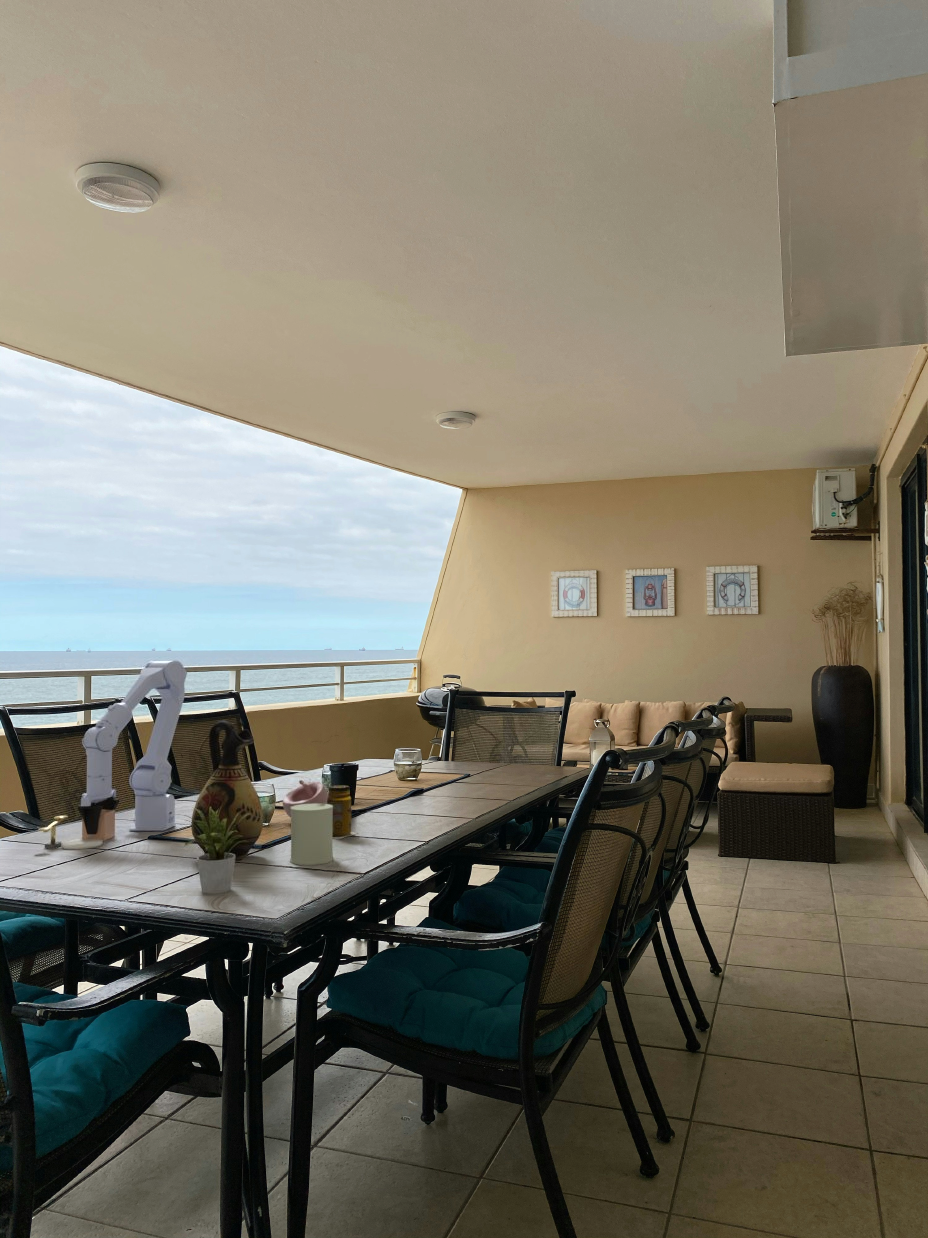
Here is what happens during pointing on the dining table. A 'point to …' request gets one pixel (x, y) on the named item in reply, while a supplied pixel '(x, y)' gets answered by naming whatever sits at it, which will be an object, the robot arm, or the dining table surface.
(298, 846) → the can
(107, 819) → the peach wooden cube
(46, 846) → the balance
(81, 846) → the saucer
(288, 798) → the mortar and pestle
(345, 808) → the condiment
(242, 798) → the ceramic jug
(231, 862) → the house plant
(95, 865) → the dining table surface
